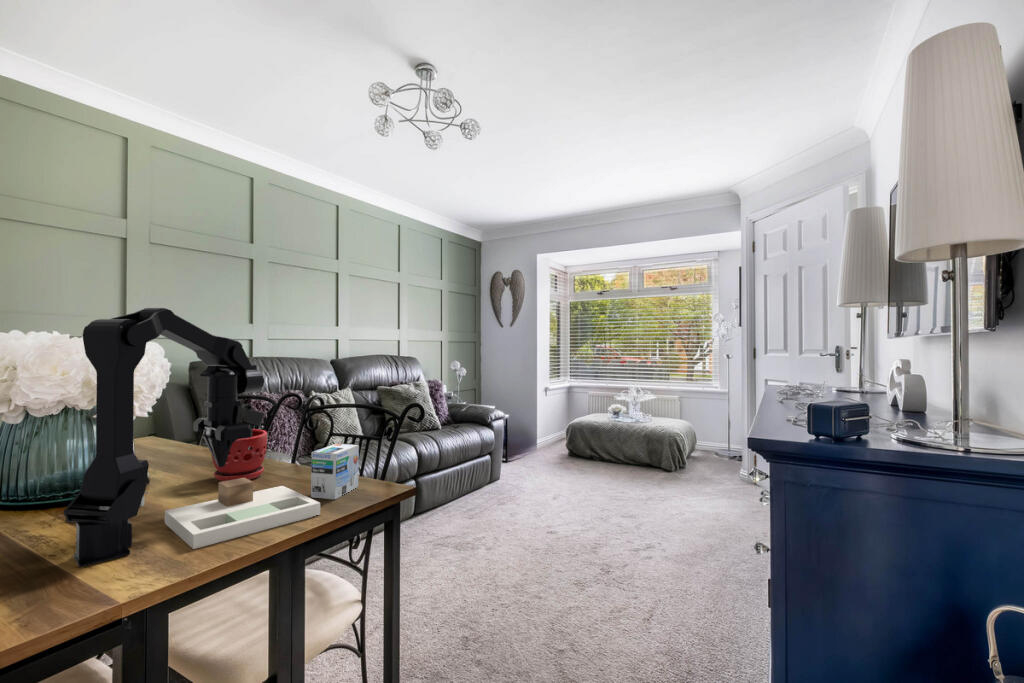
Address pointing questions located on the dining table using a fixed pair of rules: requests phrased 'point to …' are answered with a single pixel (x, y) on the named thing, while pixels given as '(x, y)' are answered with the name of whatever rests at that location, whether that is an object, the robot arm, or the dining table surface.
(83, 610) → the dining table surface
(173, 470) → the dining table surface
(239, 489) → the walnut block
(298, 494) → the tray
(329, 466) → the light bulb box
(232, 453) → the plant pot
